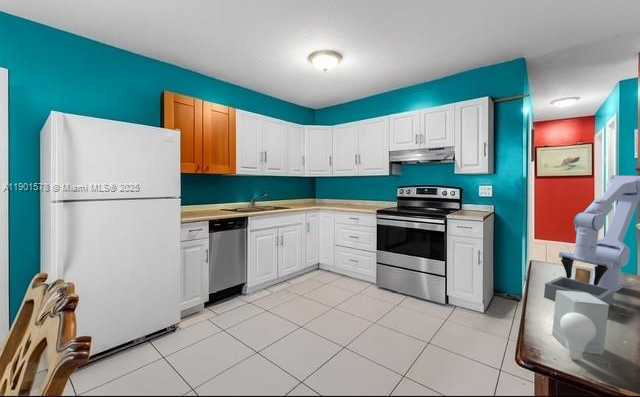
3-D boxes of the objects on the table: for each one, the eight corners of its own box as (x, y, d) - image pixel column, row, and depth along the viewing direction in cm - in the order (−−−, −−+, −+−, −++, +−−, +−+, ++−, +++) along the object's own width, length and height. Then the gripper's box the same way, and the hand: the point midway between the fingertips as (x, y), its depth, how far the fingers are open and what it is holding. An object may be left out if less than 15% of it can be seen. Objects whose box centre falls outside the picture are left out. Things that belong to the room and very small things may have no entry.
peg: (576, 288, 108) (578, 267, 107) (589, 292, 104) (592, 271, 103) (571, 290, 106) (574, 269, 105) (586, 294, 102) (588, 272, 101)
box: (560, 289, 106) (561, 276, 106) (612, 304, 94) (614, 290, 94) (543, 297, 99) (545, 283, 98) (597, 314, 87) (599, 299, 86)
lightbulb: (584, 371, 61) (590, 323, 60) (551, 355, 67) (556, 310, 66) (597, 363, 64) (602, 317, 63) (564, 348, 70) (568, 305, 69)
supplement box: (604, 355, 67) (610, 305, 66) (568, 351, 69) (574, 301, 67) (582, 338, 74) (587, 292, 73) (550, 334, 76) (555, 289, 75)
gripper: (557, 242, 107) (553, 276, 109) (610, 251, 95) (605, 290, 96) (564, 240, 111) (560, 273, 112) (616, 249, 99) (611, 286, 100)
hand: (581, 281), depth 104 cm, fingers open, 7 cm apart
